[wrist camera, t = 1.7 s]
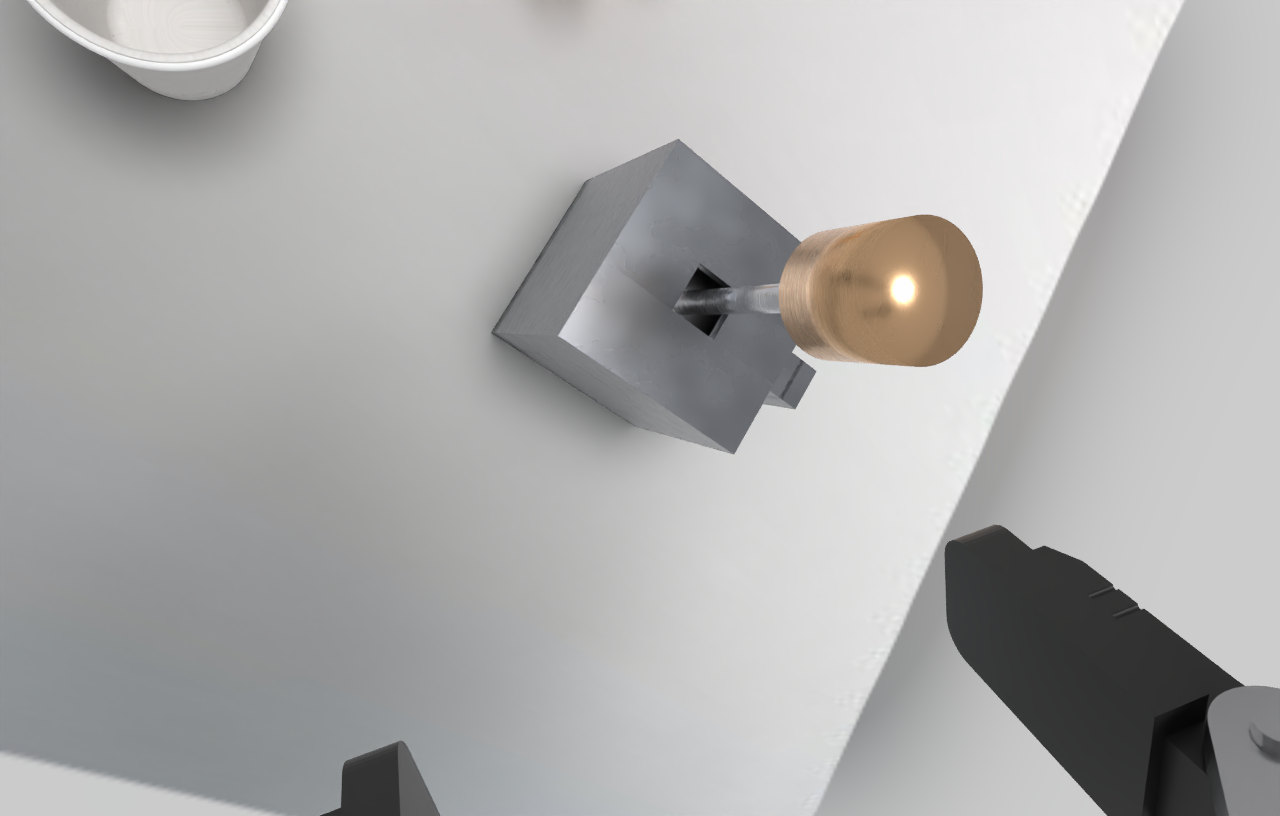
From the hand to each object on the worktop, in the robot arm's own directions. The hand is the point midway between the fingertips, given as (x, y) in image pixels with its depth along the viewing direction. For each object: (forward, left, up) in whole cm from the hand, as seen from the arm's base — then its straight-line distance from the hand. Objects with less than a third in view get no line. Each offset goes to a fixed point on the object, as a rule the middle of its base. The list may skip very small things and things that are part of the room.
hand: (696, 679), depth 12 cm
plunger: (+6, +11, -23) cm, 26 cm away
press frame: (+7, +11, -31) cm, 33 cm away
